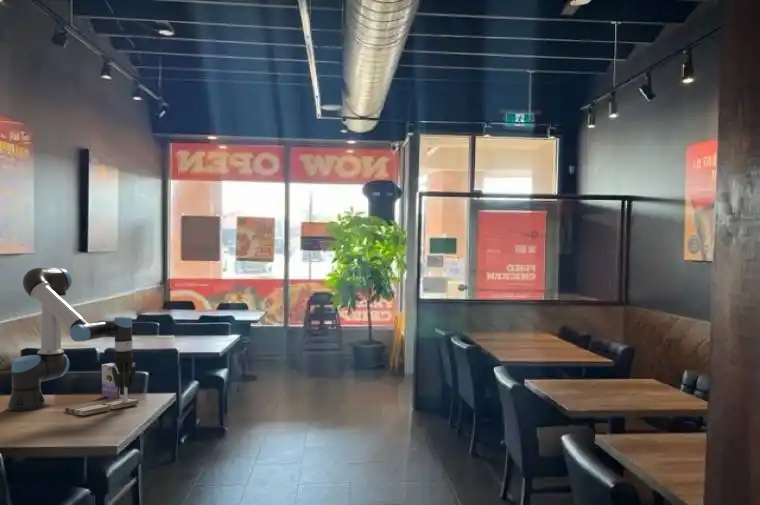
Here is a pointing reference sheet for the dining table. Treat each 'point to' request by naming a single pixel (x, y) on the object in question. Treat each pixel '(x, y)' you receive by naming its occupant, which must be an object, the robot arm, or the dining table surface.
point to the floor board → (91, 404)
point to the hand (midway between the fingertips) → (124, 401)
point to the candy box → (109, 382)
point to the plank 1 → (92, 409)
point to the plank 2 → (122, 403)
